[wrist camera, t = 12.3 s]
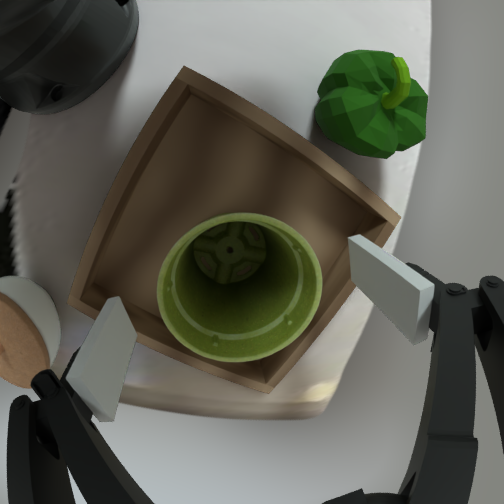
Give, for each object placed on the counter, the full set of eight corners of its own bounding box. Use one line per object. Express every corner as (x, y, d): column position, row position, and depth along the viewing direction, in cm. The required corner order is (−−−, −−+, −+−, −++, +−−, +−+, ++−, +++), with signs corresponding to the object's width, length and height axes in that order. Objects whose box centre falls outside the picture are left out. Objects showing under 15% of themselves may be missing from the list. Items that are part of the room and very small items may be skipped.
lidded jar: (75, 357, 27) (47, 415, 18) (6, 328, 25) (-31, 373, 16) (76, 277, 24) (31, 328, 16) (-1, 249, 22) (-54, 284, 13)
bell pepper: (375, 165, 25) (447, 177, 16) (294, 144, 23) (345, 141, 14) (386, 86, 22) (456, 68, 13) (308, 58, 21) (360, 15, 12)
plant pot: (304, 260, 25) (346, 309, 17) (216, 317, 26) (222, 383, 18) (247, 169, 22) (269, 177, 14) (150, 236, 23) (122, 280, 15)
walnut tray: (87, 279, 25) (66, 303, 20) (189, 82, 20) (184, 65, 16) (260, 362, 30) (268, 393, 26) (371, 205, 26) (401, 217, 21)
